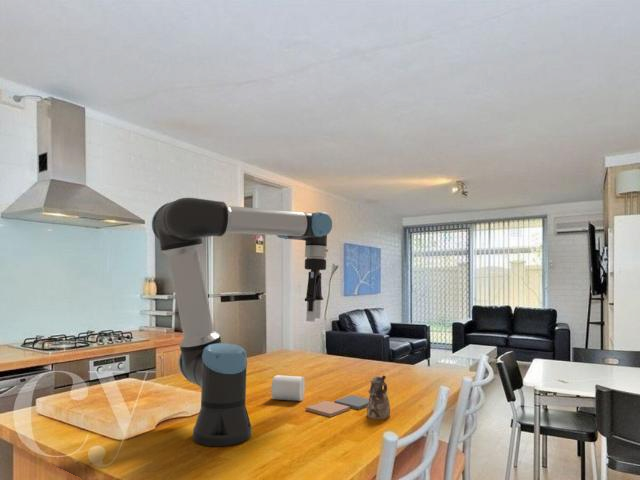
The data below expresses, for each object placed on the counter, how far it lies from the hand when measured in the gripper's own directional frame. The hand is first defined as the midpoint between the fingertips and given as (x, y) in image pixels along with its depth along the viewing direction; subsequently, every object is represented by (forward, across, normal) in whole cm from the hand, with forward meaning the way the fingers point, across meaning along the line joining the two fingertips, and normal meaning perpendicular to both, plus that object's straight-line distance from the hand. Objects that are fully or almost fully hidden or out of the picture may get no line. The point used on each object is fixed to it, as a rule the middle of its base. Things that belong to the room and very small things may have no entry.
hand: (313, 319), depth 153 cm
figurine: (+28, -11, -23) cm, 37 cm away
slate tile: (+27, +1, -15) cm, 31 cm away
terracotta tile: (+28, -8, -7) cm, 30 cm away
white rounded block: (+28, +4, +8) cm, 29 cm away
